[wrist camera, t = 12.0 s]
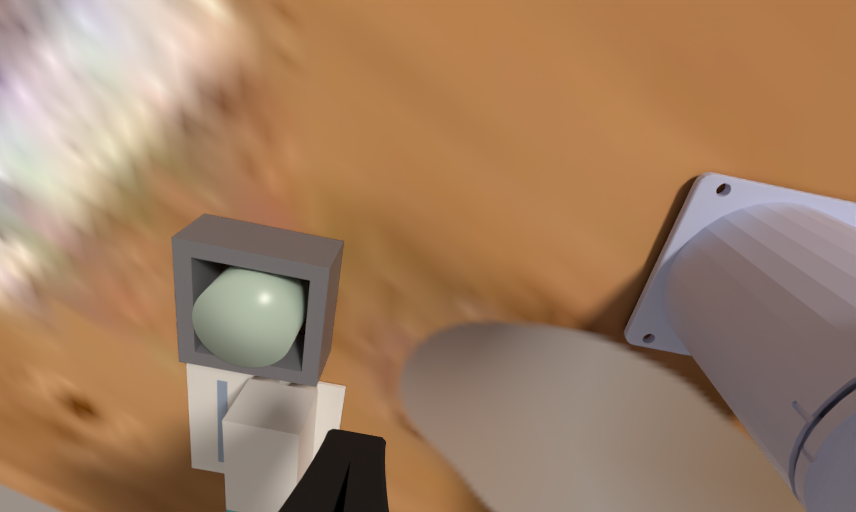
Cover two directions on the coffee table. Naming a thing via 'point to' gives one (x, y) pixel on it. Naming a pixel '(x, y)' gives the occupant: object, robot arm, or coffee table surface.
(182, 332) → the button housing
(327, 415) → the paper
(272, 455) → the eraser
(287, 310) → the button
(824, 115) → the coffee table surface
